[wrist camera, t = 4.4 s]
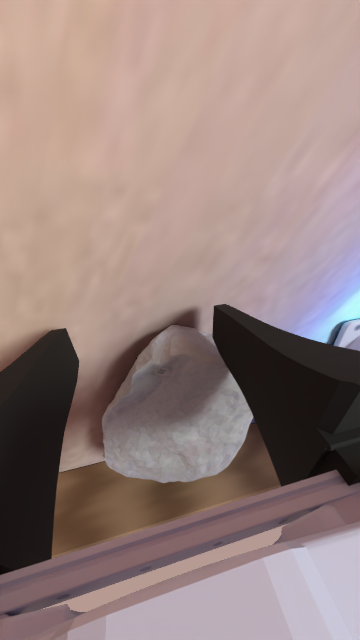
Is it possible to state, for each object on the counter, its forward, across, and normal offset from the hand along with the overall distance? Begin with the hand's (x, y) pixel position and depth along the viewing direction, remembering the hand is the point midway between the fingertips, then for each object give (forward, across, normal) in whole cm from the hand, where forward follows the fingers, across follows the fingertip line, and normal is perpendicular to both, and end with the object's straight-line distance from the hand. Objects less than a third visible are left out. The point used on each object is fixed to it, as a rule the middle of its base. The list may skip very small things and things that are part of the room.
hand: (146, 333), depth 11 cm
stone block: (+2, -2, +7) cm, 7 cm away
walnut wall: (+1, 0, +15) cm, 15 cm away
